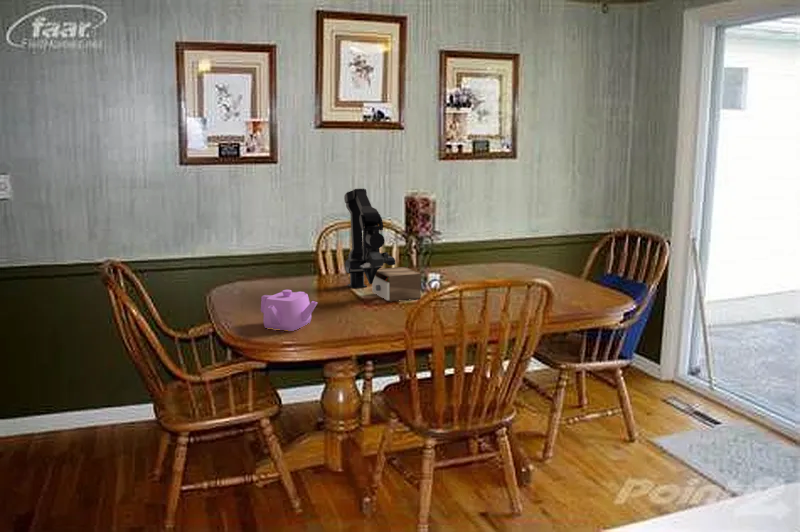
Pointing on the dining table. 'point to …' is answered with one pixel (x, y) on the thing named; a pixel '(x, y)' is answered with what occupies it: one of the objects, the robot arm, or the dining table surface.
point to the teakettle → (287, 310)
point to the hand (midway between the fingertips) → (370, 283)
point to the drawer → (380, 287)
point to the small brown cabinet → (401, 283)
